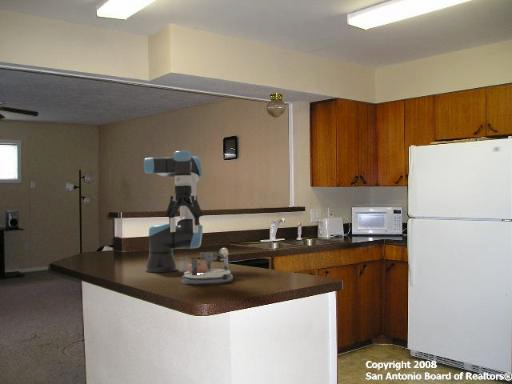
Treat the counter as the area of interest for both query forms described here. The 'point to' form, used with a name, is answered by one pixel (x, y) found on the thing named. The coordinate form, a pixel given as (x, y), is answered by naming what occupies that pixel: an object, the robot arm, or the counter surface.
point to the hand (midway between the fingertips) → (184, 232)
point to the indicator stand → (224, 254)
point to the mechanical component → (208, 257)
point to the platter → (206, 273)
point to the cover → (199, 267)
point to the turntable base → (207, 281)
